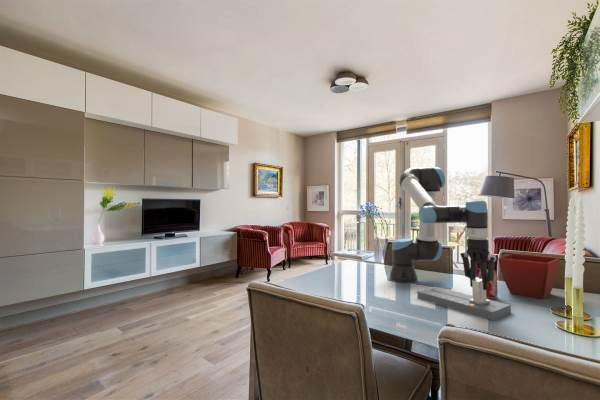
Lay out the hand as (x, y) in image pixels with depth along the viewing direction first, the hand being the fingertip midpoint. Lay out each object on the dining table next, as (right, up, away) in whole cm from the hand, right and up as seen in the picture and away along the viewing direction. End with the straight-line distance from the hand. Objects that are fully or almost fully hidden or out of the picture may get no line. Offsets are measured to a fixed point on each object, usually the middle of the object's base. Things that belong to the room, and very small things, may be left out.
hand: (479, 296), depth 116 cm
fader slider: (0, -2, 0) cm, 2 cm away
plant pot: (+37, -6, +20) cm, 42 cm away
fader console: (-4, -6, +7) cm, 10 cm away
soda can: (+15, -6, +17) cm, 23 cm away
